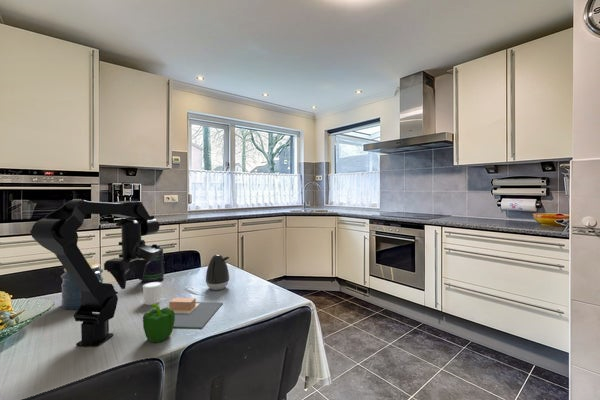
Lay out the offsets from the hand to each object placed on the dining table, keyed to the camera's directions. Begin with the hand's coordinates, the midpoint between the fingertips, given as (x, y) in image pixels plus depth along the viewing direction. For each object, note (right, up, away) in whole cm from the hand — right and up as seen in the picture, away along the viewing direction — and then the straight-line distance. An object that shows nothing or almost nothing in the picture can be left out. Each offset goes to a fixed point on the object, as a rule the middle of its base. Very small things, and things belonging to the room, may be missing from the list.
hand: (132, 284), depth 97 cm
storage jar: (-14, -11, +41) cm, 45 cm away
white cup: (-1, -12, +15) cm, 20 cm away
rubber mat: (+17, -12, +4) cm, 21 cm away
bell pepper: (+15, -13, -12) cm, 23 cm away
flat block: (+14, -11, +8) cm, 20 cm away
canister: (-27, -12, +14) cm, 33 cm away
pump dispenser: (+20, -11, +31) cm, 39 cm away
